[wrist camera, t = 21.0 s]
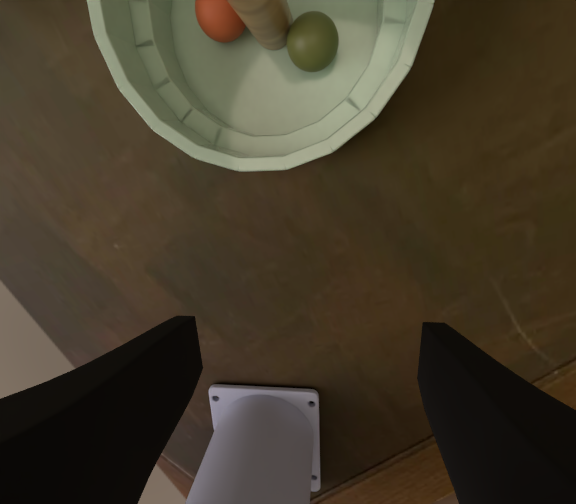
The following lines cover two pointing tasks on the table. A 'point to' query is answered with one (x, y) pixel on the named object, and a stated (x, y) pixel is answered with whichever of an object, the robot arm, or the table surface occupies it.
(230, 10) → the bead terracotta
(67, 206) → the table surface
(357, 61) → the bowl
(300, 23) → the bead olive
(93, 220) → the table surface
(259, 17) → the stir stick
